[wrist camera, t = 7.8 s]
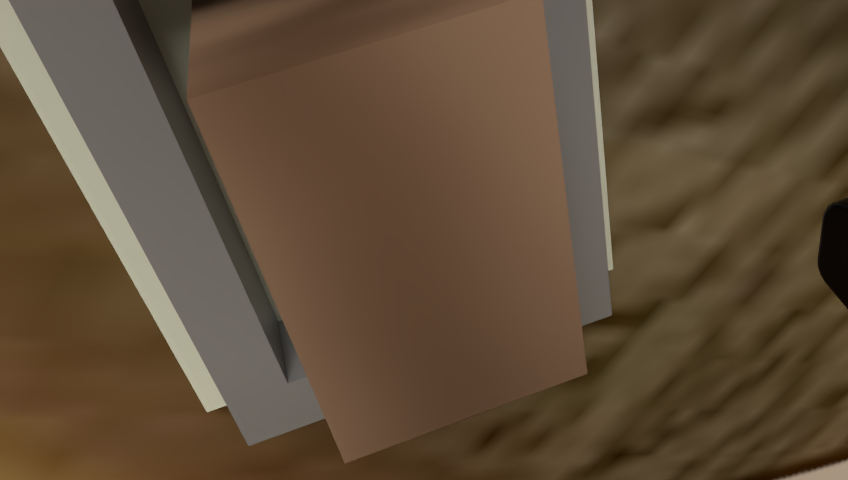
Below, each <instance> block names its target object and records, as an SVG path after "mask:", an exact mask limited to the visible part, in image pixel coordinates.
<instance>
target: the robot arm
mask: <svg viewBox="0 0 848 480" xmlns="http://www.w3.org/2000/svg"><path fill="white" fill-rule="evenodd" d="M818 268H819V271H820V274H821V276H822V278H823V279H824V281H825V282H826V284H827V285H828V286H829V287H830V289H831V290H832V291H833V292H834V293H835V295H836V296H837V297H838V298H839V299H840V300H841V302H842V303H843V304H844V305H845V306H846V308H847V309H848V198H845V199H842V200H839V201H837V202H834V203H832V204H830V205H829V206H828V207H827V209H826V210H825V212H824V215H823V220H822V229H821V237H820V245H819V253H818Z"/></svg>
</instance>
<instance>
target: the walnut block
mask: <svg viewBox="0 0 848 480" xmlns="http://www.w3.org/2000/svg"><path fill="white" fill-rule="evenodd" d="M187 102H188V104H189V107H190V109H191V111H192V113H193V116H194V118H195V120H196V123H197V125H198V127H199V130H200V132H201V134H202V136H203V139H204V141H205V143H206V146H207V148H208V150H209V152H210V155H211V157H212V159H213V162H214V164H215V166H216V169H217V171H218V173H219V175H220V178H221V180H222V182H223V185H224V187H225V189H226V192H227V194H228V196H229V198H230V201H231V203H232V205H233V208H234V210H235V212H236V215H237V217H238V219H239V221H240V224H241V226H242V228H243V231H244V233H245V235H246V238H247V240H248V242H249V244H250V247H251V249H252V251H253V254H254V256H255V258H256V260H257V263H258V265H259V267H260V270H261V272H262V274H263V277H264V279H265V281H266V283H267V286H268V288H269V290H270V293H271V295H272V297H273V300H274V302H275V304H276V306H277V309H278V311H279V313H280V316H281V318H282V320H283V323H284V325H285V327H286V329H287V332H288V334H289V336H290V339H291V341H292V343H293V345H294V348H295V350H296V352H297V355H298V357H299V359H300V362H301V364H302V366H303V368H304V371H305V373H306V375H307V378H308V380H309V382H310V385H311V387H312V389H313V391H314V394H315V396H316V398H317V401H318V403H319V405H320V408H321V410H322V412H323V414H324V417H325V419H326V421H327V424H328V426H329V428H330V430H331V433H332V435H333V437H334V440H335V442H336V444H337V447H338V449H339V451H340V453H341V456H342V458H343V460H344V463H348V462H350V461H353V460H356V459H359V458H361V457H364V456H367V455H369V454H372V453H375V452H377V451H380V450H383V449H386V448H388V447H391V446H394V445H396V444H399V443H402V442H404V441H407V440H410V439H413V438H415V437H418V436H421V435H423V434H426V433H429V432H431V431H434V430H437V429H439V428H442V427H445V426H448V425H450V424H453V423H456V422H458V421H461V420H464V419H466V418H469V417H472V416H475V415H477V414H480V413H483V412H485V411H488V410H491V409H493V408H496V407H499V406H502V405H504V404H507V403H510V402H512V401H515V400H518V399H520V398H523V397H526V396H529V395H531V394H534V393H537V392H539V391H542V390H545V389H547V388H550V387H553V386H556V385H558V384H561V383H564V382H566V381H569V380H572V379H574V378H577V377H580V376H582V375H585V374H587V365H586V357H585V349H584V340H583V332H582V324H581V315H580V307H579V298H578V290H577V282H576V273H575V265H574V257H573V248H572V240H571V232H570V223H569V215H568V207H567V198H566V190H565V182H564V173H563V165H562V156H561V148H560V140H559V131H558V123H557V115H556V106H555V98H554V90H553V81H552V73H551V65H550V56H549V48H548V40H547V31H546V23H545V15H544V6H543V0H192V11H191V29H190V47H189V66H188V84H187Z"/></svg>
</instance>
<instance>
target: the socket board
mask: <svg viewBox="0 0 848 480" xmlns="http://www.w3.org/2000/svg"><path fill="white" fill-rule="evenodd" d="M543 6H544V15H545V23H546V31H547V40H548V48H549V56H550V65H551V73H552V81H553V90H554V98H555V106H556V115H557V123H558V131H559V140H560V148H561V156H562V165H563V173H564V182H565V190H566V198H567V207H568V215H569V223H570V232H571V240H572V248H573V257H574V265H575V273H576V282H577V290H578V298H579V307H580V315H581V324H582V326H583V325H586V324H589V323H592V322H594V321H597V320H600V319H603V318H606V317H608V316H611V315H612V310H611V298H610V286H609V274H608V271H609V270H612V269H613V261H612V248H611V235H610V223H609V210H608V197H607V184H606V171H605V159H604V146H603V133H602V120H601V107H600V94H599V82H598V69H597V56H596V43H595V30H594V18H593V5H592V0H543ZM191 11H192V0H0V47H1V49H2V51H3V53H4V54H5V56H6V58H7V60H8V61H9V63H10V65H11V67H12V69H13V70H14V72H15V74H16V76H17V77H18V79H19V81H20V83H21V84H22V86H23V88H24V90H25V92H26V93H27V95H28V97H29V99H30V100H31V102H32V104H33V106H34V107H35V109H36V111H37V113H38V114H39V116H40V118H41V120H42V122H43V123H44V125H45V127H46V129H47V130H48V132H49V134H50V136H51V137H52V139H53V141H54V143H55V145H56V146H57V148H58V150H59V152H60V153H61V155H62V157H63V159H64V160H65V162H66V164H67V166H68V168H69V169H70V171H71V173H72V175H73V176H74V178H75V180H76V182H77V183H78V185H79V187H80V189H81V191H82V192H83V194H84V196H85V198H86V199H87V201H88V203H89V205H90V206H91V208H92V210H93V212H94V213H95V215H96V217H97V219H98V221H99V222H100V224H101V226H102V228H103V229H104V231H105V233H106V235H107V236H108V238H109V240H110V242H111V244H112V245H113V247H114V249H115V251H116V252H117V254H118V256H119V258H120V259H121V261H122V263H123V265H124V267H125V268H126V270H127V272H128V274H129V275H130V277H131V279H132V281H133V282H134V284H135V286H136V288H137V290H138V291H139V293H140V295H141V297H142V298H143V300H144V302H145V304H146V305H147V307H148V309H149V311H150V312H151V314H152V316H153V318H154V320H155V321H156V323H157V325H158V327H159V328H160V330H161V332H162V334H163V335H164V337H165V339H166V341H167V343H168V344H169V346H170V348H171V350H172V351H173V353H174V355H175V357H176V358H177V360H178V362H179V364H180V366H181V367H182V369H183V371H184V373H185V374H186V376H187V378H188V380H189V381H190V383H191V385H192V387H193V389H194V390H195V392H196V394H197V396H198V397H199V399H200V401H201V403H202V404H203V406H204V408H205V410H206V411H207V412H209V411H212V410H215V409H218V408H221V407H224V406H226V405H227V407H228V409H229V411H230V412H231V414H232V416H233V418H234V420H235V422H236V424H237V425H238V427H239V429H240V431H241V433H242V435H243V437H244V438H245V440H246V442H247V444H248V446H250V445H253V444H256V443H259V442H261V441H264V440H267V439H270V438H272V437H275V436H278V435H281V434H284V433H286V432H289V431H292V430H295V429H297V428H300V427H303V426H306V425H309V424H311V423H314V422H317V421H320V420H322V419H325V417H324V414H323V412H322V410H321V408H320V405H319V403H318V401H317V398H316V396H315V394H314V391H313V389H312V387H311V385H310V382H309V380H308V378H307V375H306V373H305V371H304V368H303V366H302V364H301V362H300V359H299V357H298V355H297V352H296V350H295V348H294V345H293V343H292V341H291V339H290V336H289V334H288V332H287V329H286V327H285V325H284V323H283V320H282V318H281V316H280V313H279V311H278V309H277V306H276V304H275V302H274V300H273V297H272V295H271V293H270V290H269V288H268V286H267V283H266V281H265V279H264V277H263V274H262V272H261V270H260V267H259V265H258V263H257V260H256V258H255V256H254V254H253V251H252V249H251V247H250V244H249V242H248V240H247V238H246V235H245V233H244V231H243V228H242V226H241V224H240V221H239V219H238V217H237V215H236V212H235V210H234V208H233V205H232V203H231V201H230V198H229V196H228V194H227V192H226V189H225V187H224V185H223V182H222V180H221V178H220V175H219V173H218V171H217V169H216V166H215V164H214V162H213V159H212V157H211V155H210V152H209V150H208V148H207V146H206V143H205V141H204V139H203V136H202V134H201V132H200V130H199V127H198V125H197V123H196V120H195V118H194V116H193V113H192V111H191V109H190V107H189V104H188V102H187V84H188V66H189V47H190V29H191Z"/></svg>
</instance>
